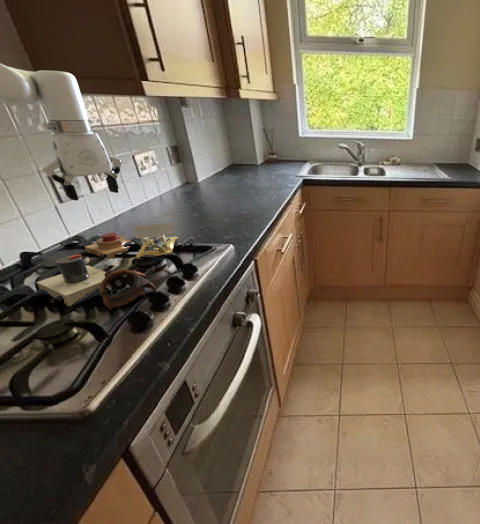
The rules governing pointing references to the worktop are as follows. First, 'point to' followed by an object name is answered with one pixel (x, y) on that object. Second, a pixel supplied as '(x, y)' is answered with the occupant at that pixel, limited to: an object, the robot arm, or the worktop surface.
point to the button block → (108, 247)
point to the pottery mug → (123, 286)
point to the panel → (72, 286)
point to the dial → (73, 268)
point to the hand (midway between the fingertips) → (95, 195)
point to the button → (109, 237)
